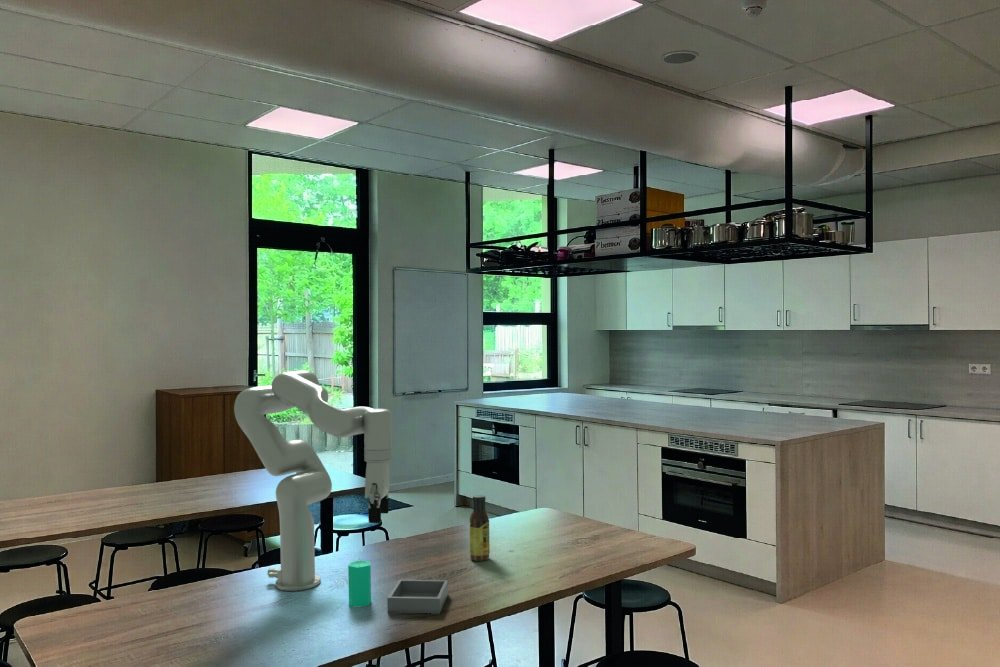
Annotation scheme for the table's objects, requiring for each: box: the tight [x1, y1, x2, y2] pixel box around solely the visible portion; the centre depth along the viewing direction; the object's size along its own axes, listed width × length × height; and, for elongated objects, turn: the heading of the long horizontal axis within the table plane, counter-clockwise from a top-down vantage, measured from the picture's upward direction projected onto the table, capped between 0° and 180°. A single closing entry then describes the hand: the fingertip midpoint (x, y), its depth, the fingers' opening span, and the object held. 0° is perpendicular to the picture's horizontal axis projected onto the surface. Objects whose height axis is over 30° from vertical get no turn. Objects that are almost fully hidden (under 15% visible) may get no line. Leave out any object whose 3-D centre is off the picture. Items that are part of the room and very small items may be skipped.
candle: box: [347, 557, 372, 608], centre depth 196 cm, size 6×6×12 cm
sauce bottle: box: [469, 494, 491, 562], centre depth 232 cm, size 7×6×20 cm
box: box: [386, 579, 449, 615], centre depth 195 cm, size 14×14×4 cm
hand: (378, 517), depth 199 cm, fingers open, 9 cm apart
